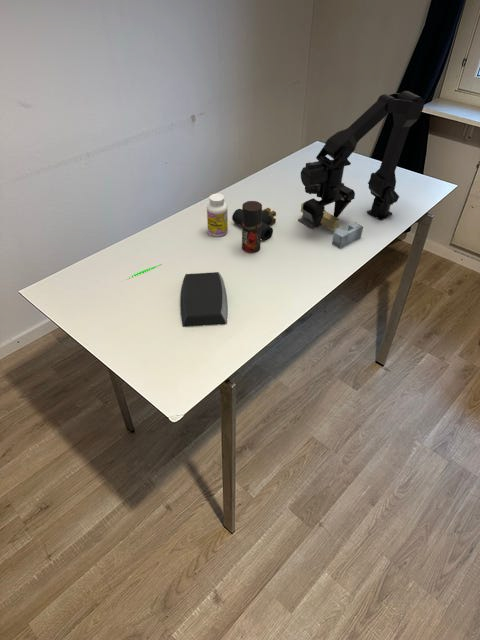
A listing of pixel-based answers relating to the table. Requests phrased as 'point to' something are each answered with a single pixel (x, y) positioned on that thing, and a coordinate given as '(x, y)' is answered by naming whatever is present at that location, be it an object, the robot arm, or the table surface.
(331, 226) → the tan square rod
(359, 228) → the slate-blue socket
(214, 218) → the supplement bottle
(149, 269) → the pen
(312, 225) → the grey sleeve
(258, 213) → the deodorant
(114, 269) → the table surface
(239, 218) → the pipe connector
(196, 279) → the external hard drive
